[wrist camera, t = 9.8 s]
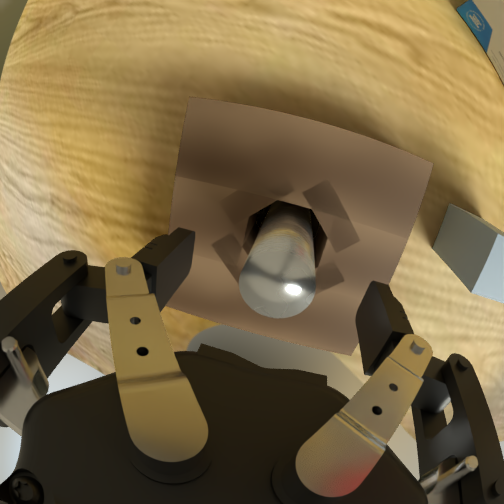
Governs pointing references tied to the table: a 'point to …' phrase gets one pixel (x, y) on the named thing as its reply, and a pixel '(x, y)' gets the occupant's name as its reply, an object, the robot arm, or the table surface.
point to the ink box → (487, 28)
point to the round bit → (281, 263)
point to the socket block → (295, 192)
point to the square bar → (473, 252)
